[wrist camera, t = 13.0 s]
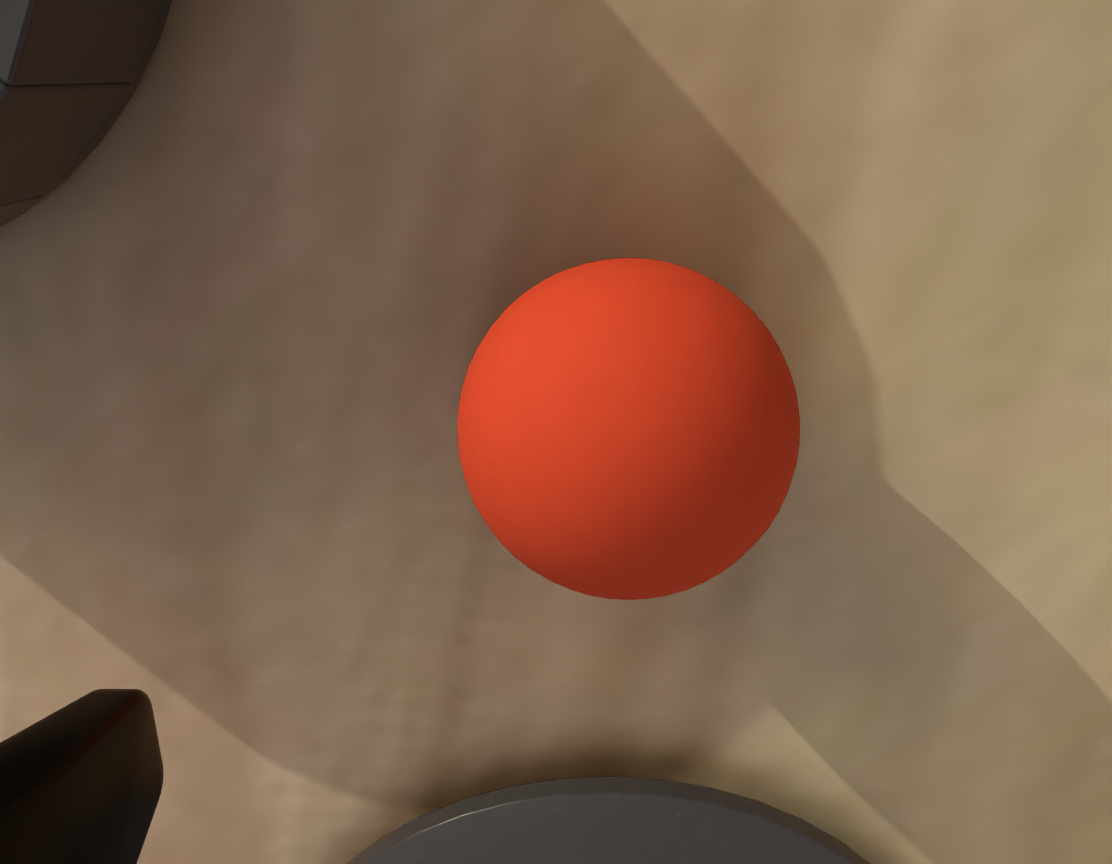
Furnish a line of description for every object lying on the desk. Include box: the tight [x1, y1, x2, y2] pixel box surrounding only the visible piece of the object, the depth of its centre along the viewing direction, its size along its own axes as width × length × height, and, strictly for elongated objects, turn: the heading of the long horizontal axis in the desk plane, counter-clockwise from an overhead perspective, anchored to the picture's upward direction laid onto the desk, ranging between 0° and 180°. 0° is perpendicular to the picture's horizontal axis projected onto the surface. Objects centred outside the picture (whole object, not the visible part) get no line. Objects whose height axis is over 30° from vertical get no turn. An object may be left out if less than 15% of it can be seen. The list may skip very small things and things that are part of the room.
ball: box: [457, 258, 800, 600], centre depth 14 cm, size 5×5×5 cm
